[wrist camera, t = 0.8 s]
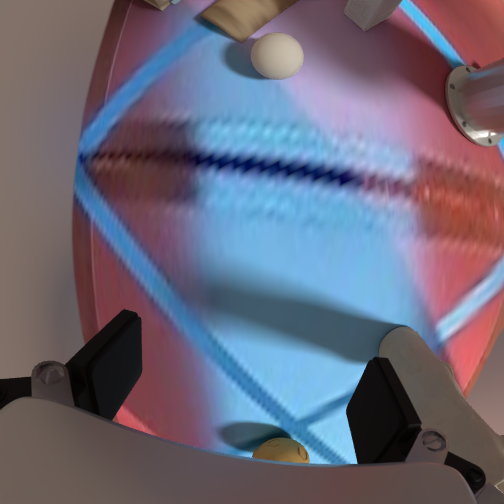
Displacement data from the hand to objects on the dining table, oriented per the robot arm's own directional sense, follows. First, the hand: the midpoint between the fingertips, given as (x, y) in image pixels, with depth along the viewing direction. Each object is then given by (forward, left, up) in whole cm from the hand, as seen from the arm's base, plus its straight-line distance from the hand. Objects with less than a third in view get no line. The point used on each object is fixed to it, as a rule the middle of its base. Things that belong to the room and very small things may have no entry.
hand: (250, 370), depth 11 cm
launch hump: (-22, -24, -31) cm, 45 cm away
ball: (-16, -14, -23) cm, 31 cm away
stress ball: (+25, +29, -26) cm, 46 cm away
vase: (-2, +26, -26) cm, 36 cm away
